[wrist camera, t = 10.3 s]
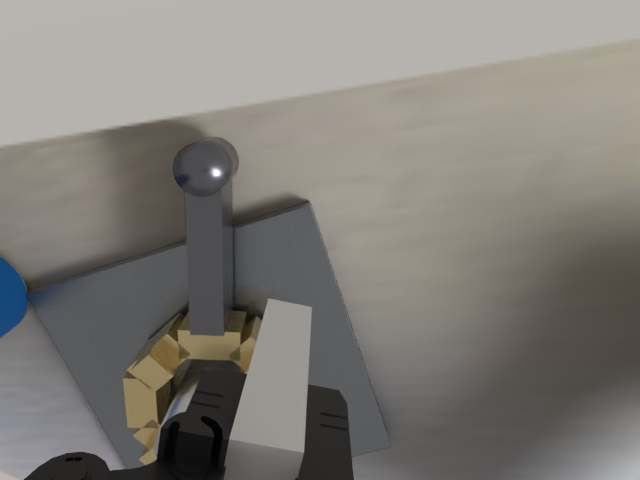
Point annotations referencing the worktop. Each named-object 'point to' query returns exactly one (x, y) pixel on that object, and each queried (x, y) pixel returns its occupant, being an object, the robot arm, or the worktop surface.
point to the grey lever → (194, 293)
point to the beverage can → (11, 297)
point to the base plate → (173, 298)
